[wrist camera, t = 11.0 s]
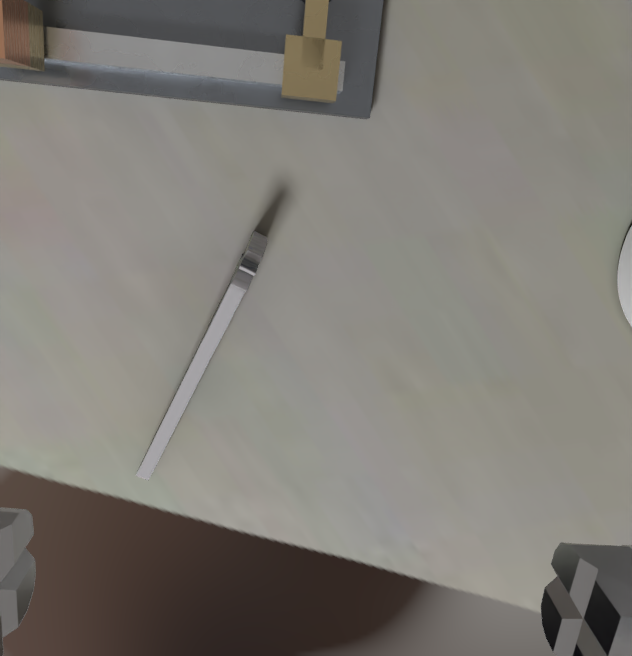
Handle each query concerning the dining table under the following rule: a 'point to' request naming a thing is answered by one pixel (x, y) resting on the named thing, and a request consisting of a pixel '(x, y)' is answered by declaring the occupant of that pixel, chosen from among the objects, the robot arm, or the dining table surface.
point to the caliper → (205, 350)
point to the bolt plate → (221, 34)
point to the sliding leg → (21, 35)
